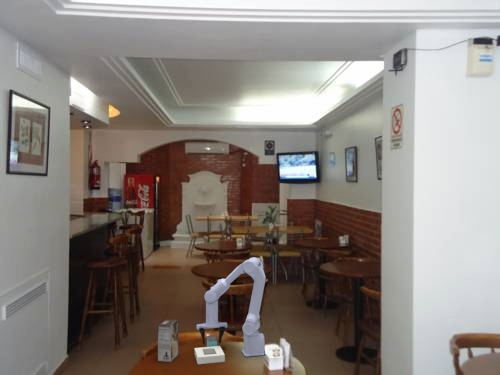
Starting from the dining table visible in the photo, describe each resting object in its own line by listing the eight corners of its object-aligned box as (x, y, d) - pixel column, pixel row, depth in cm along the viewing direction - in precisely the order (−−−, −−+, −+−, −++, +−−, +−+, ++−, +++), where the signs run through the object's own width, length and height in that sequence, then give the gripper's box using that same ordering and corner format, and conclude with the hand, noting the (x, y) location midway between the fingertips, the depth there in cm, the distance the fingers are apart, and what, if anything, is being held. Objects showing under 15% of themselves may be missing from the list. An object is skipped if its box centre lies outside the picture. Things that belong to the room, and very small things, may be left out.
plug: (215, 346, 211) (215, 334, 211) (217, 351, 205) (217, 338, 206) (206, 347, 210) (206, 335, 210) (208, 351, 204) (208, 339, 205)
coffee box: (165, 353, 202) (165, 319, 202) (178, 354, 201) (178, 319, 201) (157, 361, 193) (157, 324, 193) (171, 362, 192) (171, 325, 192)
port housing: (220, 352, 204) (220, 345, 204) (224, 361, 192) (224, 354, 192) (194, 354, 201) (194, 348, 201) (197, 364, 189) (197, 357, 189)
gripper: (225, 311, 214) (225, 339, 214) (195, 313, 210) (195, 341, 210) (228, 315, 207) (227, 344, 207) (197, 317, 203) (197, 346, 203)
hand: (211, 343), depth 208 cm, fingers open, 7 cm apart
